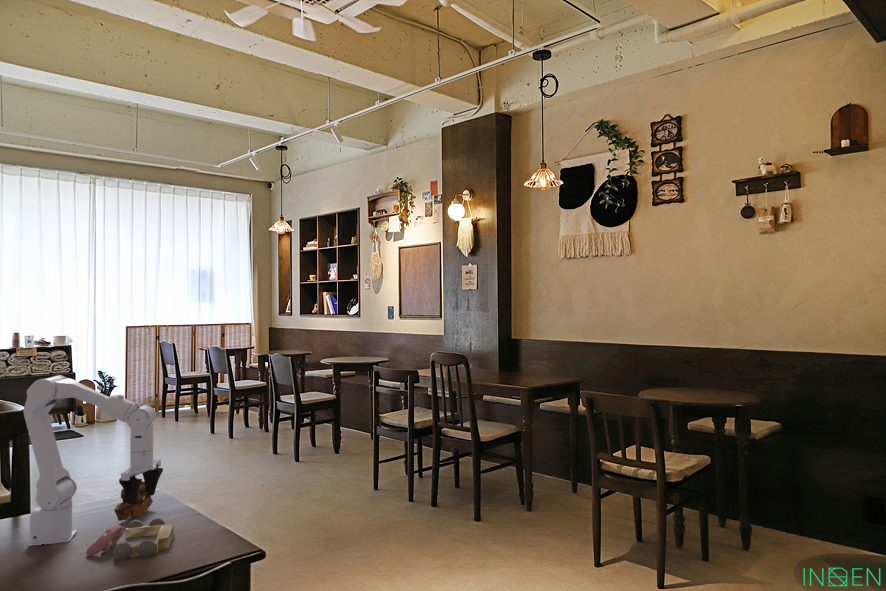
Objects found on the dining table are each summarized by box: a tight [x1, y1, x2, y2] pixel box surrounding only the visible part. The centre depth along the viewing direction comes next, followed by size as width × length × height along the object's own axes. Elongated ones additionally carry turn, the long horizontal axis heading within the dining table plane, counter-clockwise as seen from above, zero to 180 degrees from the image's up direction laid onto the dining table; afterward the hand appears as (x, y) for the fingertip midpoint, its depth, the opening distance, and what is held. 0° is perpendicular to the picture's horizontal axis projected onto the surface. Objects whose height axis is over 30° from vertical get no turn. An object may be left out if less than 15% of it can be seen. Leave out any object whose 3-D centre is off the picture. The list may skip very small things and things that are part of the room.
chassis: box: [112, 517, 175, 561], centre depth 161 cm, size 12×18×4 cm
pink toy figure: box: [85, 523, 127, 557], centre depth 158 cm, size 10×5×7 cm, turn 179°
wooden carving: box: [114, 480, 153, 522], centre depth 183 cm, size 16×5×10 cm, turn 178°
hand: (141, 499), depth 168 cm, fingers open, 7 cm apart
